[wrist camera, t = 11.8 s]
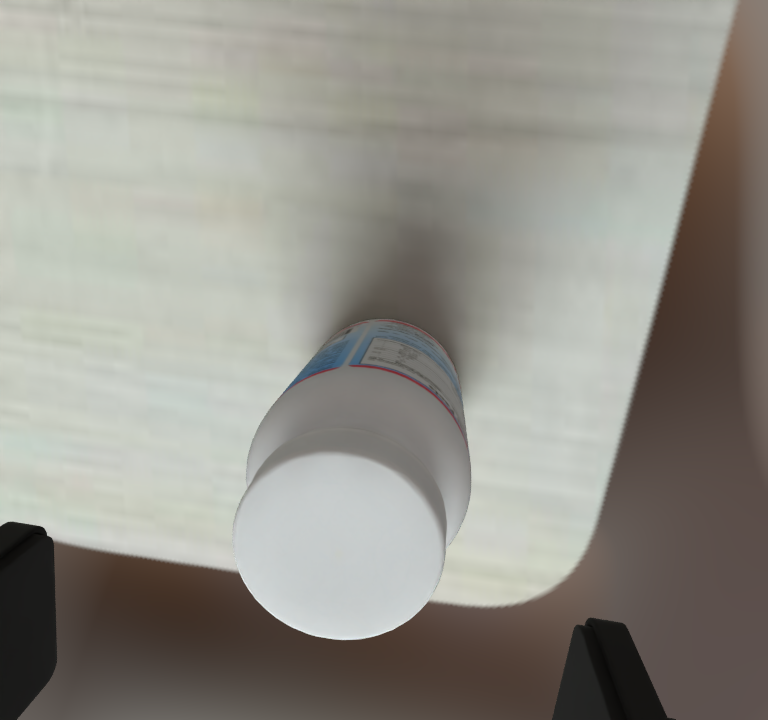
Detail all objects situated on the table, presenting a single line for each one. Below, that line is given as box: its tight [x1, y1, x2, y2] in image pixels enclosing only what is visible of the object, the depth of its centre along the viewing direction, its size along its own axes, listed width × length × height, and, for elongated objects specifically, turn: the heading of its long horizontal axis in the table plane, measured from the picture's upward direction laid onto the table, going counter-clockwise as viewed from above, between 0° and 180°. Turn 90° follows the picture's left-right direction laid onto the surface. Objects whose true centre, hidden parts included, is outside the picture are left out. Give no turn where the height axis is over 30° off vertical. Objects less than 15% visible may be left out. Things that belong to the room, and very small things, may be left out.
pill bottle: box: [232, 319, 471, 640], centre depth 18 cm, size 6×6×11 cm
